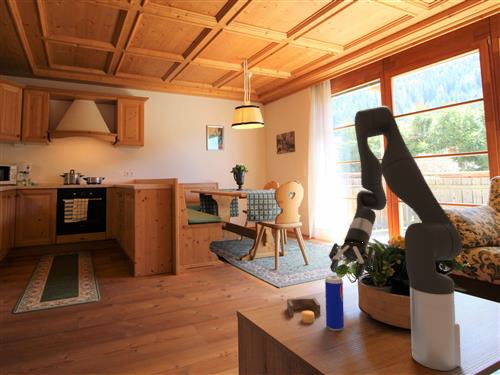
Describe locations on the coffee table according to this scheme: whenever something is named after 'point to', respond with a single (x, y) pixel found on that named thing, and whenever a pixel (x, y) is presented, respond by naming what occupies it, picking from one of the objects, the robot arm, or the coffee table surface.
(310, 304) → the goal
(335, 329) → the beverage can
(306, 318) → the orange rounded puck
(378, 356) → the coffee table surface
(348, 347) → the coffee table surface
